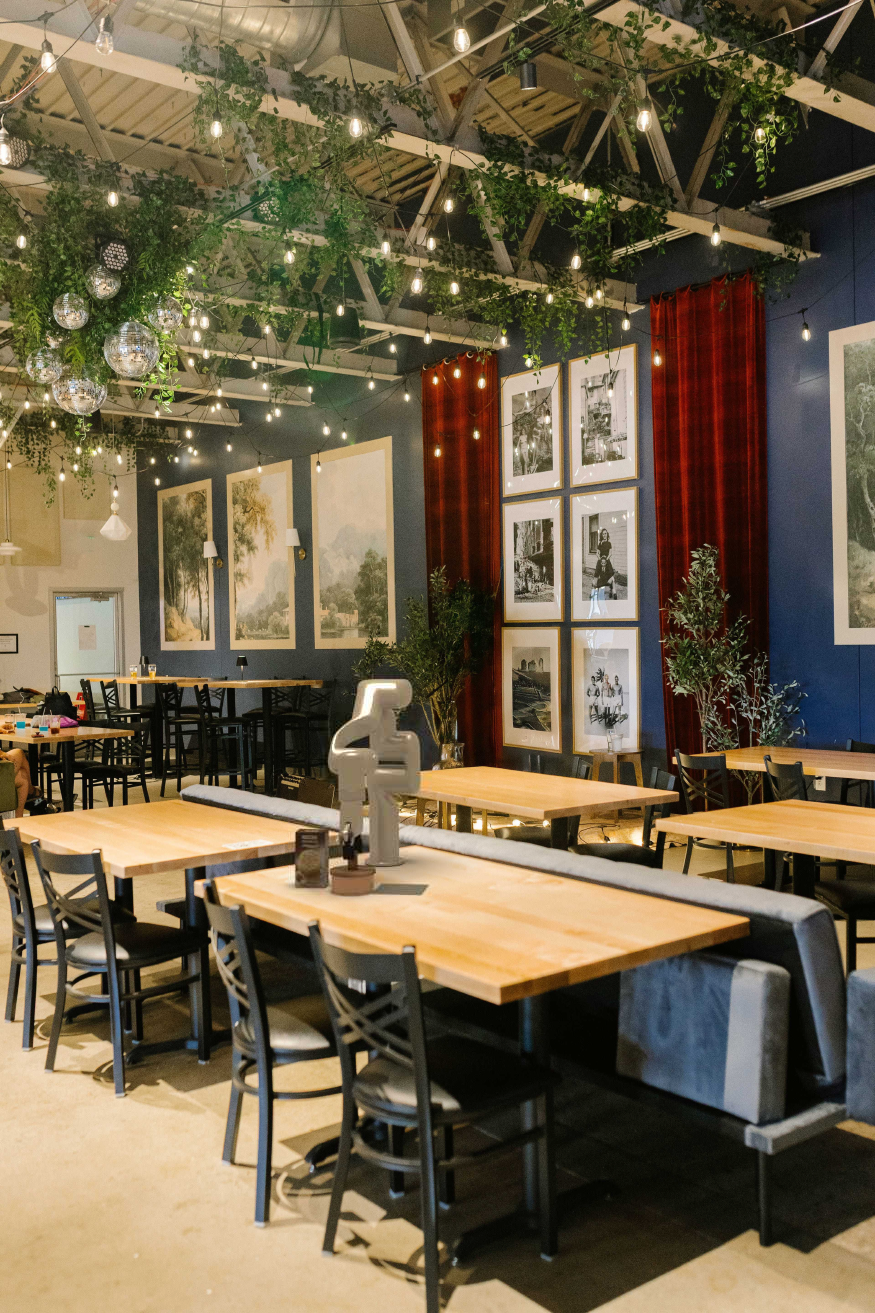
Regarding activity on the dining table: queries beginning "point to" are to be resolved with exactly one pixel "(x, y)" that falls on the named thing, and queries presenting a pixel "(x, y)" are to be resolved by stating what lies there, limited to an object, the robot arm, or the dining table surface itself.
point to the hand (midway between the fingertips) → (352, 856)
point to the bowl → (352, 885)
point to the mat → (401, 889)
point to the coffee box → (312, 858)
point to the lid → (353, 869)
